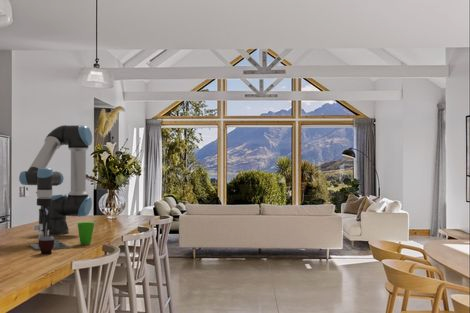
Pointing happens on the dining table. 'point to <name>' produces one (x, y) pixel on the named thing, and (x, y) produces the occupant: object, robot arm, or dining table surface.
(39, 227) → the elbow
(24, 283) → the dining table surface
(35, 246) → the duct flange
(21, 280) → the dining table surface
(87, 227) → the cup
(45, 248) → the mate gourd
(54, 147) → the robot arm
